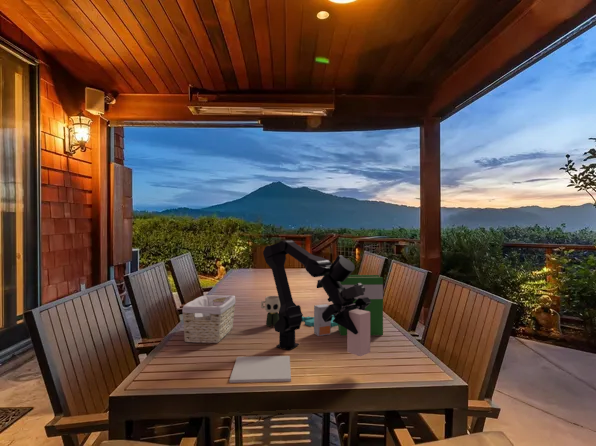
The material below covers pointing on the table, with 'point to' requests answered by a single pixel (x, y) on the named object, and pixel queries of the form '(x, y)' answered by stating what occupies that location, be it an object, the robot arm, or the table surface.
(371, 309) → the green cereal box
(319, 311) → the skincare box
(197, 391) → the table surface
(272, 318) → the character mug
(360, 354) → the rose card box
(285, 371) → the white square plate
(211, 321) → the storage basket
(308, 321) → the alien figure
